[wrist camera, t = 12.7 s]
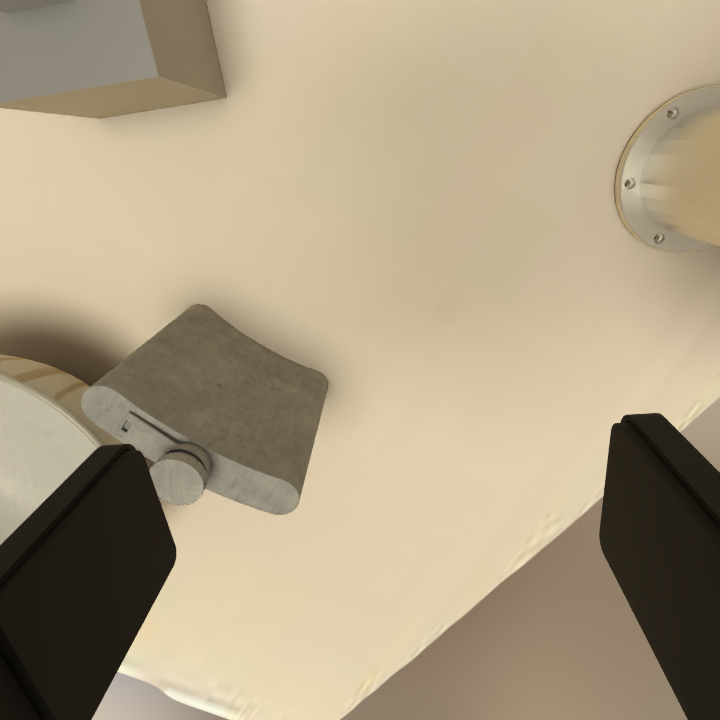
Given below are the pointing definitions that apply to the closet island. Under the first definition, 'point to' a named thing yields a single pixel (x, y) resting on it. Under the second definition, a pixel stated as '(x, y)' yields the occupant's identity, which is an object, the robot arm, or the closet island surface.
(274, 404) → the hip flask
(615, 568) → the robot arm
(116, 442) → the decorative bowl
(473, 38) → the closet island surface
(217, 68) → the grey stepped block
